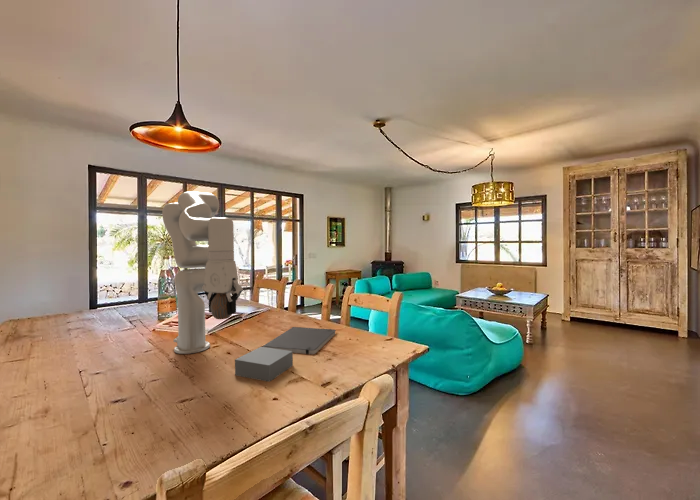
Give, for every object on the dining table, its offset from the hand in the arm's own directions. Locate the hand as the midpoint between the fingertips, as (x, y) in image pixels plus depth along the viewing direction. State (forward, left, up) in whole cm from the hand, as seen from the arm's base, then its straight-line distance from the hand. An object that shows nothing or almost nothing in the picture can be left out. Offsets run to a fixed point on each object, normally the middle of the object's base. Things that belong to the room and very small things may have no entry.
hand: (222, 312), depth 100 cm
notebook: (+7, +38, -21) cm, 44 cm away
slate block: (+11, +7, -20) cm, 24 cm away
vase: (0, 0, -2) cm, 2 cm away
